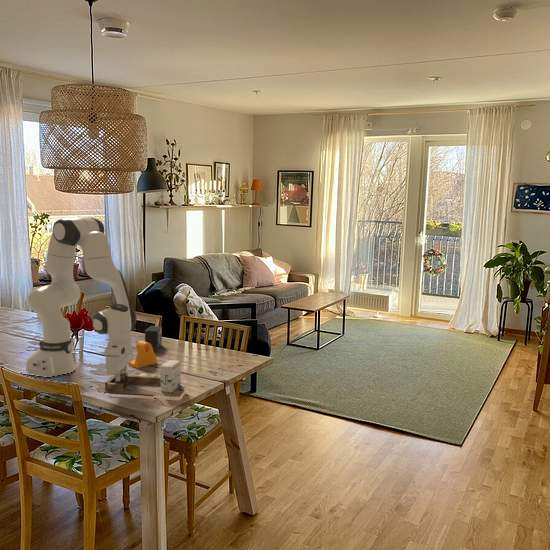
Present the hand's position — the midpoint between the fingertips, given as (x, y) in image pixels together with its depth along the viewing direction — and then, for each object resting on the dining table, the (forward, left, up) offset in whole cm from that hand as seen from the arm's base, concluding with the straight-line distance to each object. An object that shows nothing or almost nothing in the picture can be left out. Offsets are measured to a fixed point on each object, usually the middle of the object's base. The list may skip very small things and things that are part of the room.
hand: (120, 378), depth 221 cm
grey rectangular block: (0, 0, -2) cm, 2 cm away
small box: (-5, +58, -5) cm, 58 cm away
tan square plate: (+6, +13, -5) cm, 15 cm away
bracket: (-1, +29, -5) cm, 29 cm away
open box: (+5, 0, -5) cm, 7 cm away
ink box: (+20, +1, -5) cm, 21 cm away
